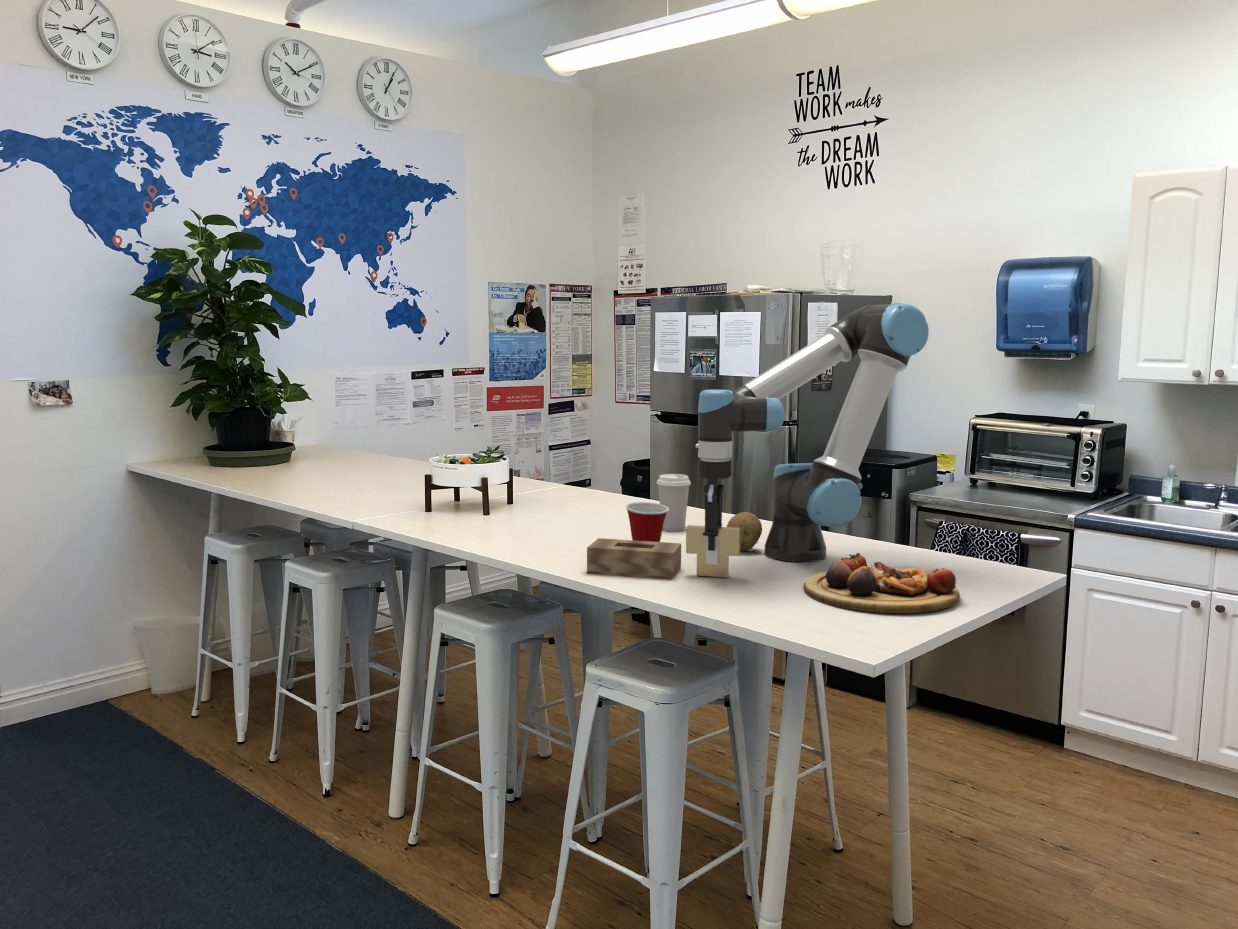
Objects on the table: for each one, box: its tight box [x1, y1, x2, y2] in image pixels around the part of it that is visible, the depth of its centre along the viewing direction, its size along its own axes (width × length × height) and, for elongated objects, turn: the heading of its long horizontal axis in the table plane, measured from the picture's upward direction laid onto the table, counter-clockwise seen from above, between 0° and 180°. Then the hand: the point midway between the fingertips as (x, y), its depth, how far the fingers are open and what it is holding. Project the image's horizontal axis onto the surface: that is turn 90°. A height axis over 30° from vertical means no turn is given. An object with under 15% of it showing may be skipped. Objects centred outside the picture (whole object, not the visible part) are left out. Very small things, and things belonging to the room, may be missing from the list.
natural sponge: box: [726, 511, 763, 552], centre depth 242 cm, size 9×9×10 cm
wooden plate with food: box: [803, 552, 961, 614], centre depth 204 cm, size 32×32×8 cm
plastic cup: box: [625, 501, 669, 542], centre depth 238 cm, size 11×11×12 cm
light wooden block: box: [685, 524, 741, 578], centre depth 216 cm, size 12×2×11 cm, turn 76°
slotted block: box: [586, 537, 682, 580], centre depth 221 cm, size 20×10×6 cm, turn 76°
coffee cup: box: [656, 473, 692, 532], centre depth 267 cm, size 10×10×15 cm
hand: (712, 562), depth 217 cm, fingers closed on light wooden block, 2 cm apart
